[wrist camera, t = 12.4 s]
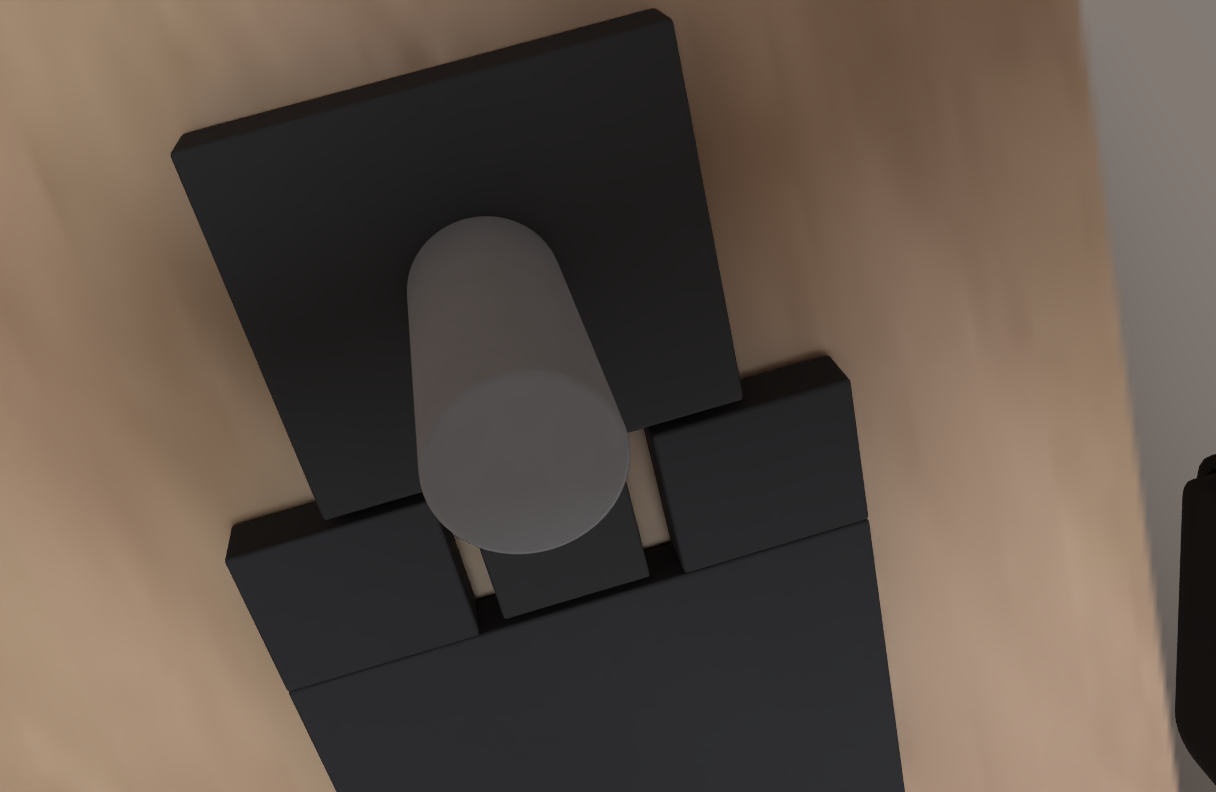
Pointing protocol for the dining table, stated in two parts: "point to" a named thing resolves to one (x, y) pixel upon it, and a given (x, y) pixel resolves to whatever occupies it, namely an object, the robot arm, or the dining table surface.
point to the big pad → (606, 629)
